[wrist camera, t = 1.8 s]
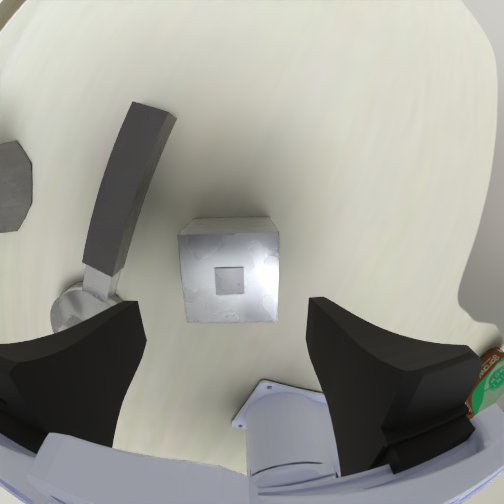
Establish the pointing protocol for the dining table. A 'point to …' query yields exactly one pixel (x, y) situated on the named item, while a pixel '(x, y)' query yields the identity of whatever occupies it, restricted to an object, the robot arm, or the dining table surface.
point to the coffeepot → (14, 186)
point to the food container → (488, 383)
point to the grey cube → (230, 269)
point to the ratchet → (115, 215)
